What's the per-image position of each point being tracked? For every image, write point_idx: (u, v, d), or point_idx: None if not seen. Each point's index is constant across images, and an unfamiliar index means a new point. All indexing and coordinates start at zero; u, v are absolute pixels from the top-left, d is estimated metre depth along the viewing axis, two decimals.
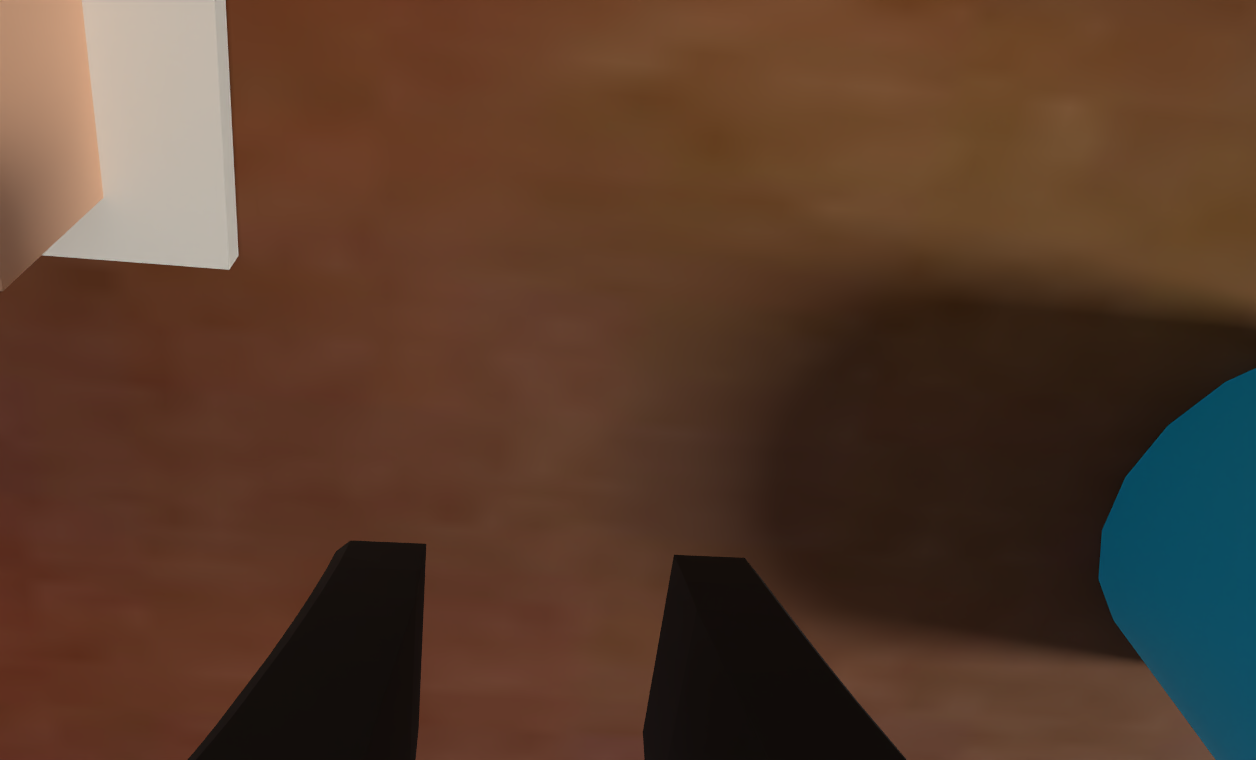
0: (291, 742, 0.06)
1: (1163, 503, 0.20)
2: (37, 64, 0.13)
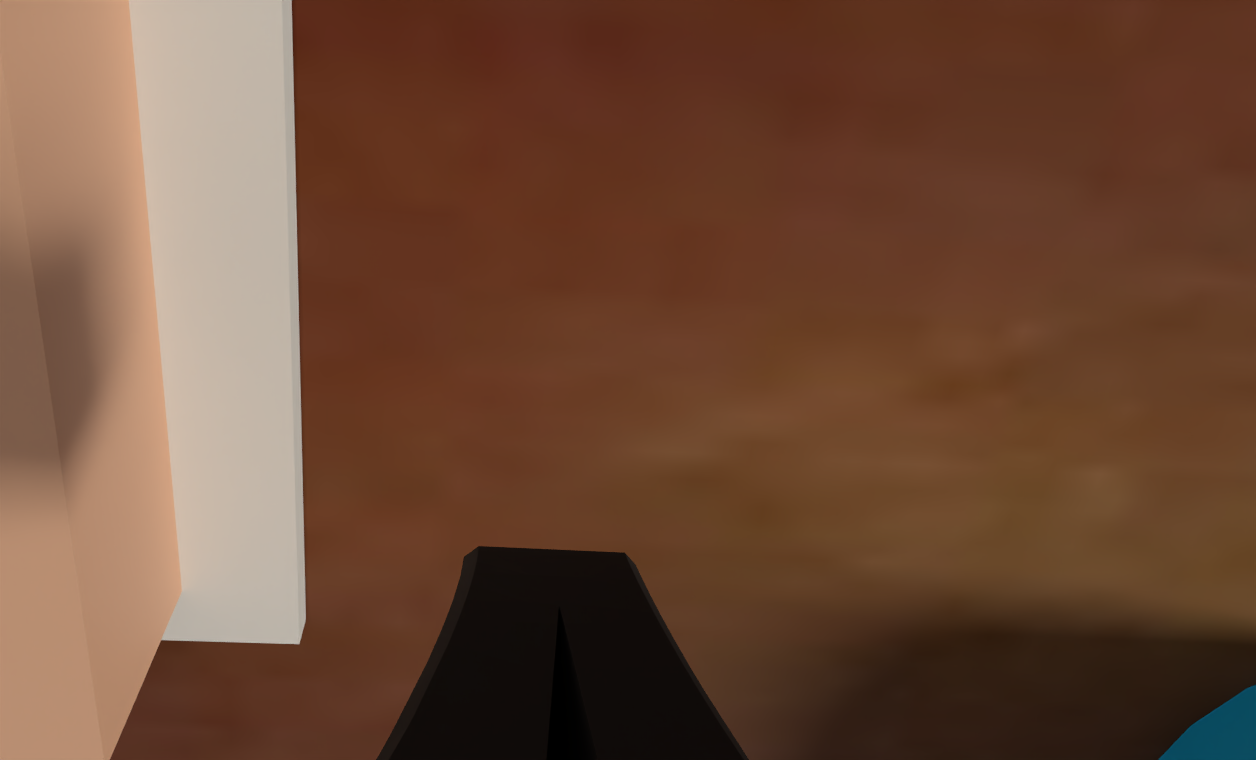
0: (473, 746, 0.06)
1: None
2: (133, 536, 0.14)
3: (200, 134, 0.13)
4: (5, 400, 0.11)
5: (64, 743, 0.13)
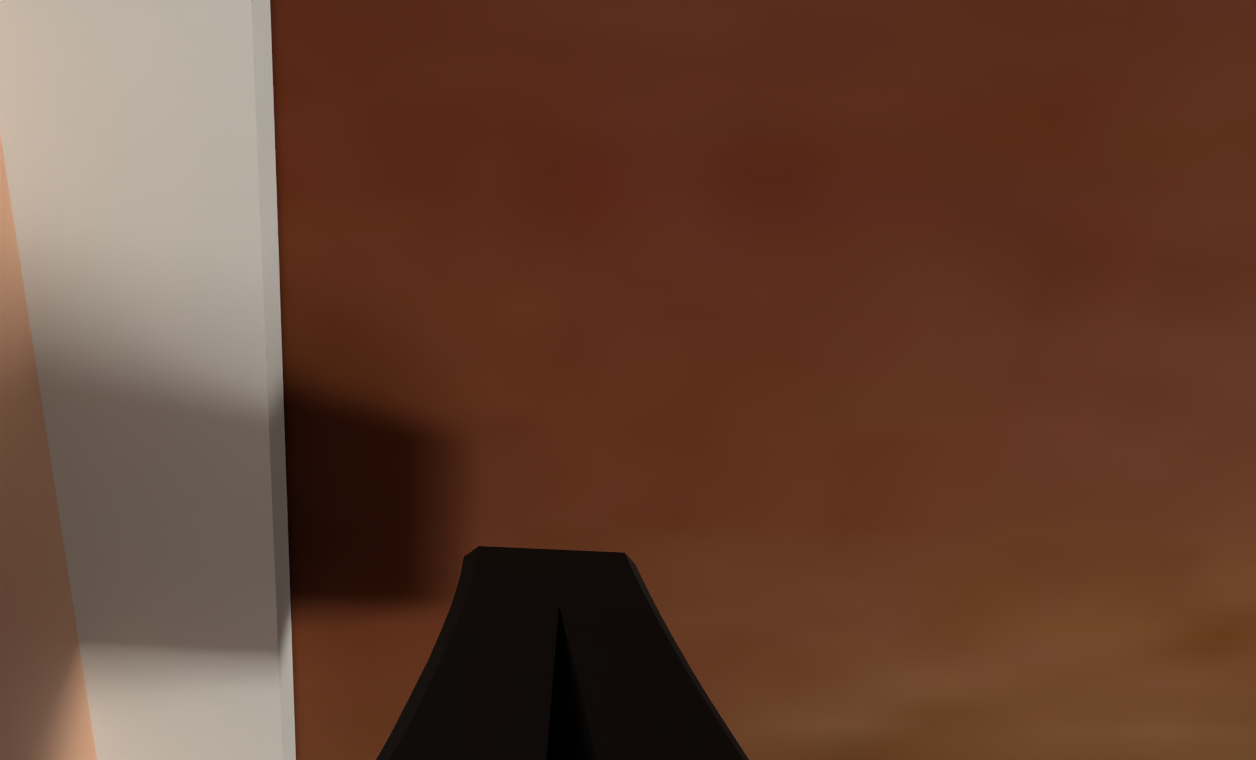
0: (473, 745, 0.06)
1: None
2: None
3: (128, 336, 0.08)
4: None
5: None
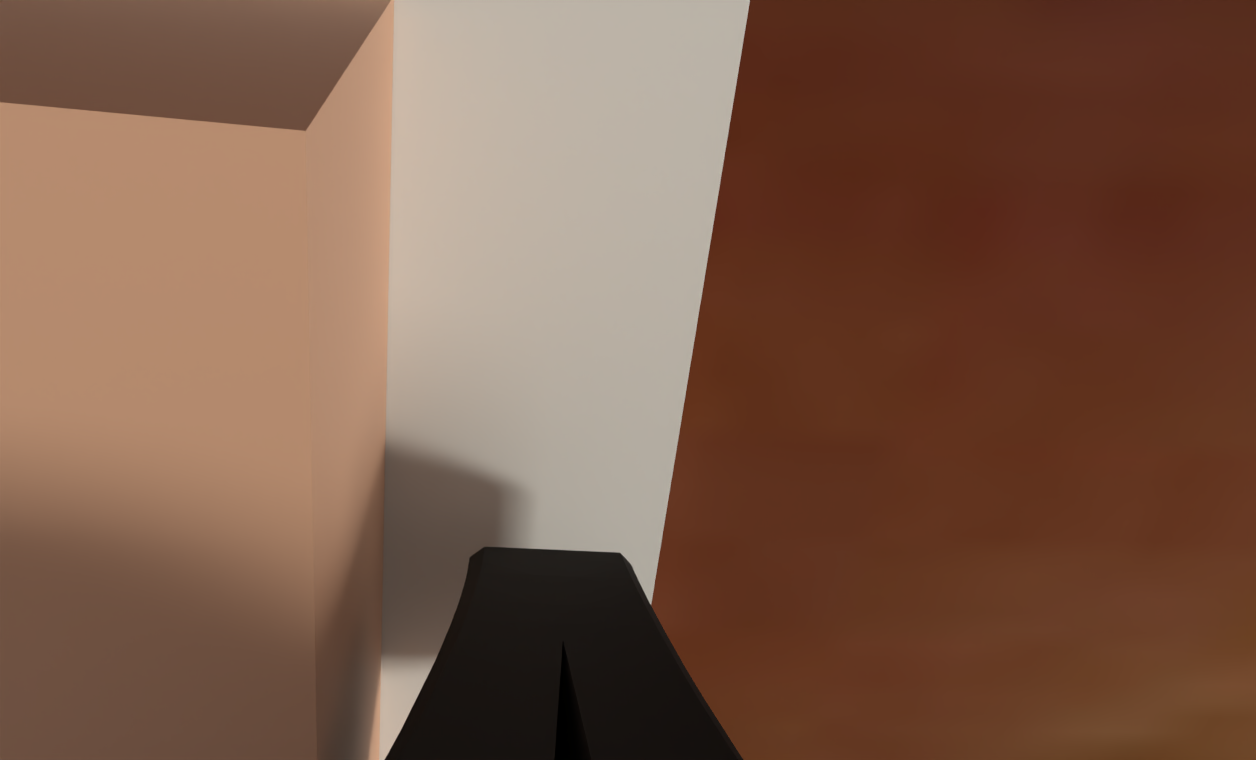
0: (481, 746, 0.06)
1: None
2: None
3: (565, 367, 0.09)
4: None
5: None
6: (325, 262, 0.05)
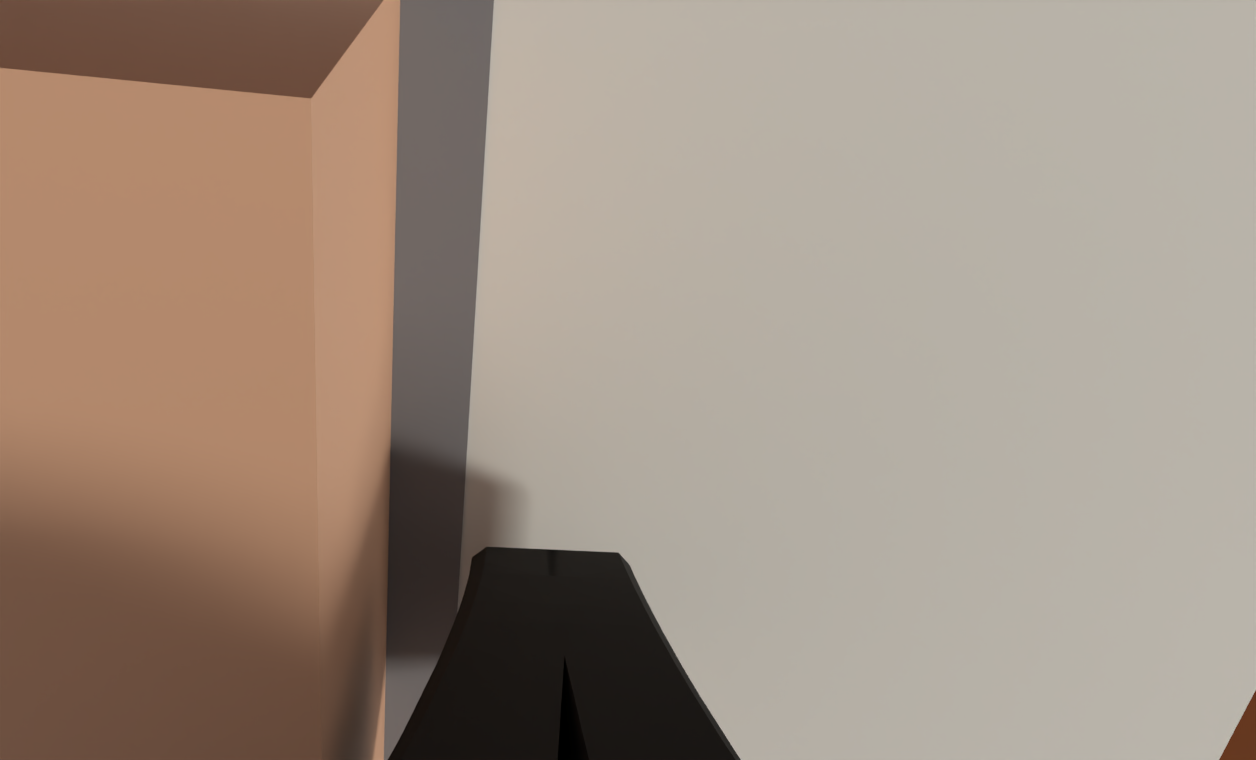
0: (484, 746, 0.06)
1: None
2: None
3: None
4: None
5: None
6: (329, 237, 0.05)
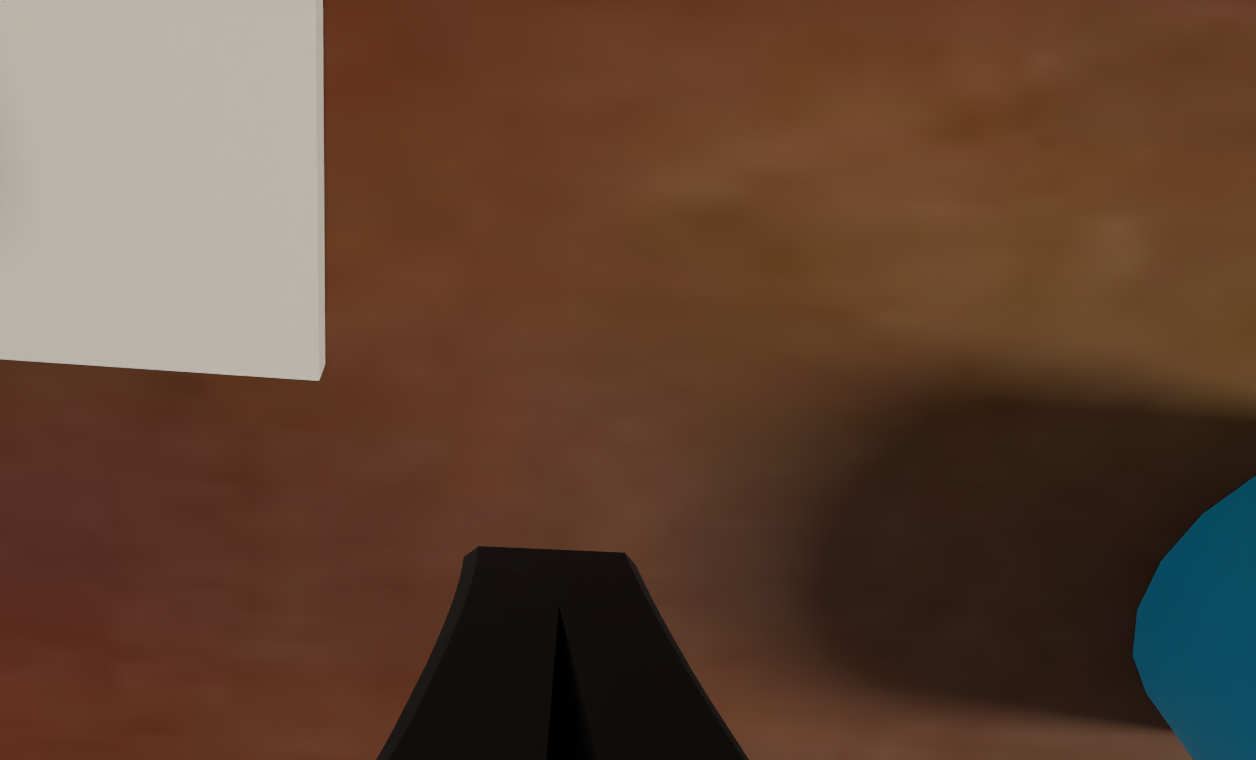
0: (473, 746, 0.06)
1: (1199, 590, 0.20)
2: None
3: None
4: None
5: None
6: None
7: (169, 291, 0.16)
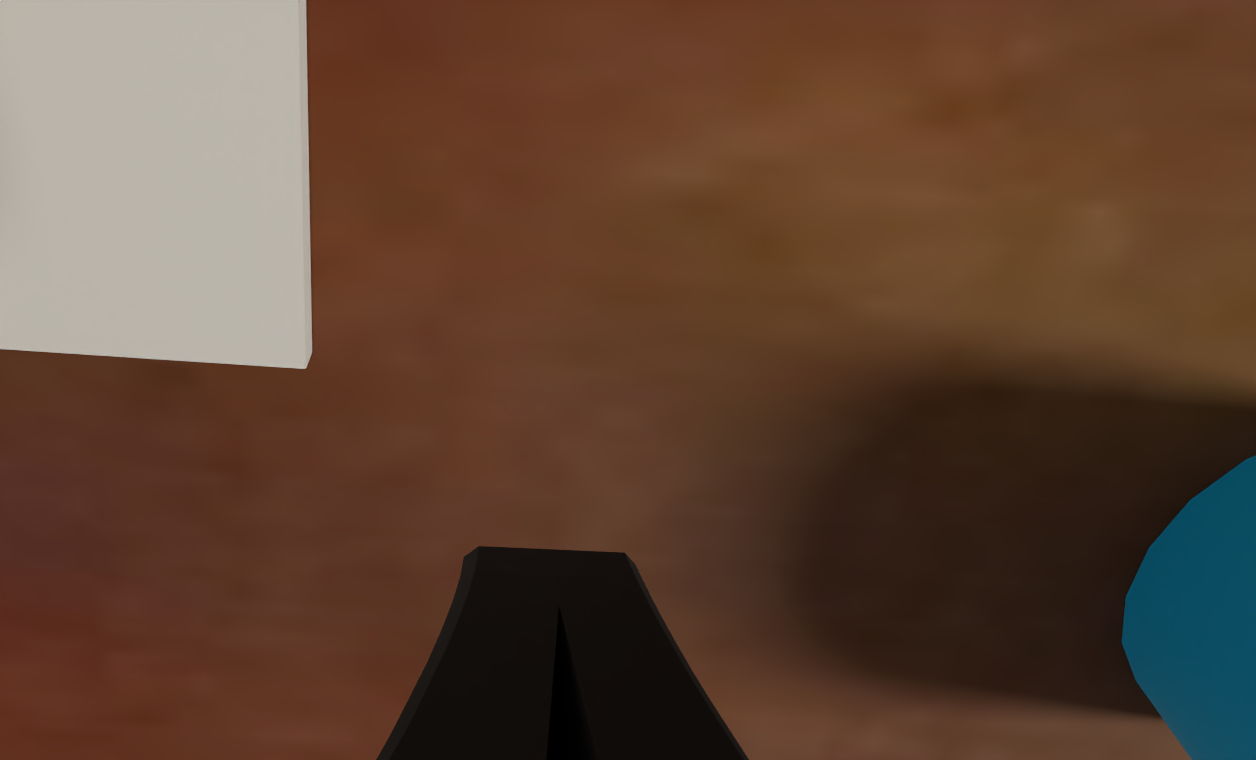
0: (473, 745, 0.06)
1: (1186, 576, 0.20)
2: None
3: None
4: None
5: None
6: None
7: (155, 279, 0.16)
